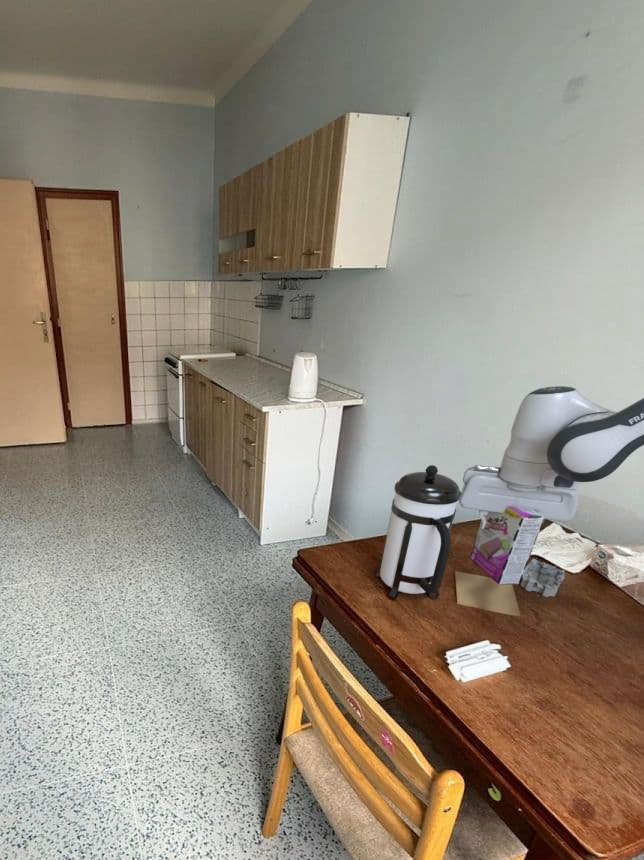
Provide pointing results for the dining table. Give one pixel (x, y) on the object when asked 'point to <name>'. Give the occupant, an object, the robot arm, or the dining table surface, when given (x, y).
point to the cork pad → (485, 594)
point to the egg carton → (542, 578)
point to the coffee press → (419, 533)
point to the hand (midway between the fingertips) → (505, 531)
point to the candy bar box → (507, 543)
